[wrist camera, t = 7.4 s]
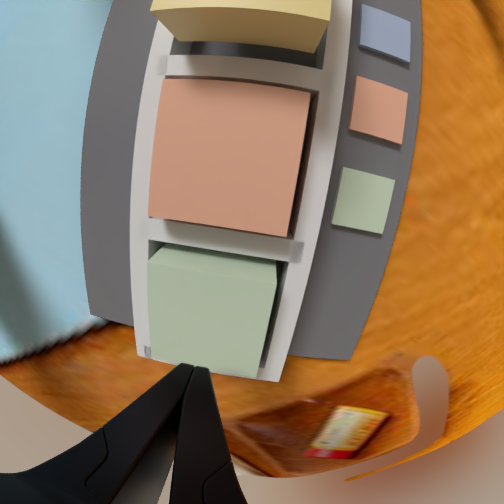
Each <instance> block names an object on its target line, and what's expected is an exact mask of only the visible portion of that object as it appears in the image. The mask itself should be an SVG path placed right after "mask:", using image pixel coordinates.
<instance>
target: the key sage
mask: <svg viewBox="0 0 504 504" xmlns="http://www.w3.org/2000/svg"><path fill="white" fill-rule="evenodd" d="M276 286H277V277H276V260H274V259H268V258H262V257H255V256H249V255H243V254H236V253H230V252H224V251H218V250H211V249H205V248H199V247H193V246H186V245H180V244H174V243H168V242H167V243H166V244H165V245H164V246H163V247H162V248H161V249H160V250H158V251H157V252H156V253H155V254H154V255H153V256H152V257H151V258H150V259H149V260H148V261H147V297H148V319H149V334H150V347H151V358H154V359H158V360H162V361H167V362H171V363H175V364H180V363H187V364H192V365H194V366H202V367H207V368H209V370H210V371H214V372H220V373H226V374H232V375H238V376H245V377H252V378H256V376H257V371H258V367H259V363H260V358H261V354H262V350H263V345H264V341H265V337H266V332H267V328H268V323H269V318H270V314H271V309H272V305H273V300H274V295H275V290H276Z"/></svg>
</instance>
